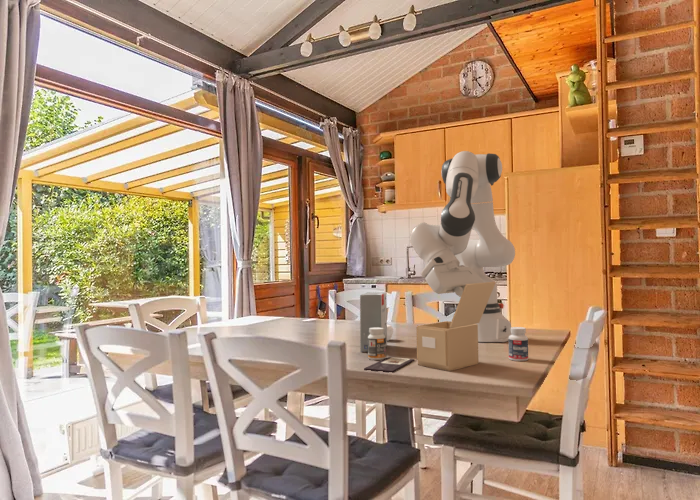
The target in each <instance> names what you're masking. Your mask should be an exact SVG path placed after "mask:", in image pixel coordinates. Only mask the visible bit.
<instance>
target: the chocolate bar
mask: <svg viewBox="0 0 700 500" xmlns="http://www.w3.org/2000/svg"><path fill="white" fill-rule="evenodd" d="M413 362H415V358H402V357H391V356H388V357H386V358H385V359H383V360H378V361H377V362H375V363H372V364H371V365H368V366H367V367H364V368H363V370H364V371H367V370H371V371H370V372H378V371H383V372H382V373H389V372H392V374H393V373H395V372H397V371H399V370H400V369H403V368H404V367H406V366H408V365H409V364H412V363H413ZM396 370H397V371H396Z"/></svg>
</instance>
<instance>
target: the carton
mask: <svg viewBox="0 0 700 500" xmlns="http://www.w3.org/2000/svg"><path fill="white" fill-rule="evenodd" d="M451 321H452V320H451ZM451 321H449V320H445V321H439V322H432V323H425V324H419V325H417V326H416V329H415V330H416V360H417V365H418V366H421V367H426V368H430V369H437V370H442V371H448V372H452V371H455V370H459V369H462V368H463V369H464V368H468V367H471V366H476V365H479V363H480V362H479V342H478V324H471V325H465V326H459V327H453V328H450V327H449V326H450V324H451Z"/></svg>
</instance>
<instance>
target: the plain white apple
mask: <svg viewBox="0 0 700 500" xmlns="http://www.w3.org/2000/svg"><path fill="white" fill-rule="evenodd" d="M393 335H394V328H393V326H392V325H391V324H387V342H388V341H390V340H391V338H392V337H393Z"/></svg>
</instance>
